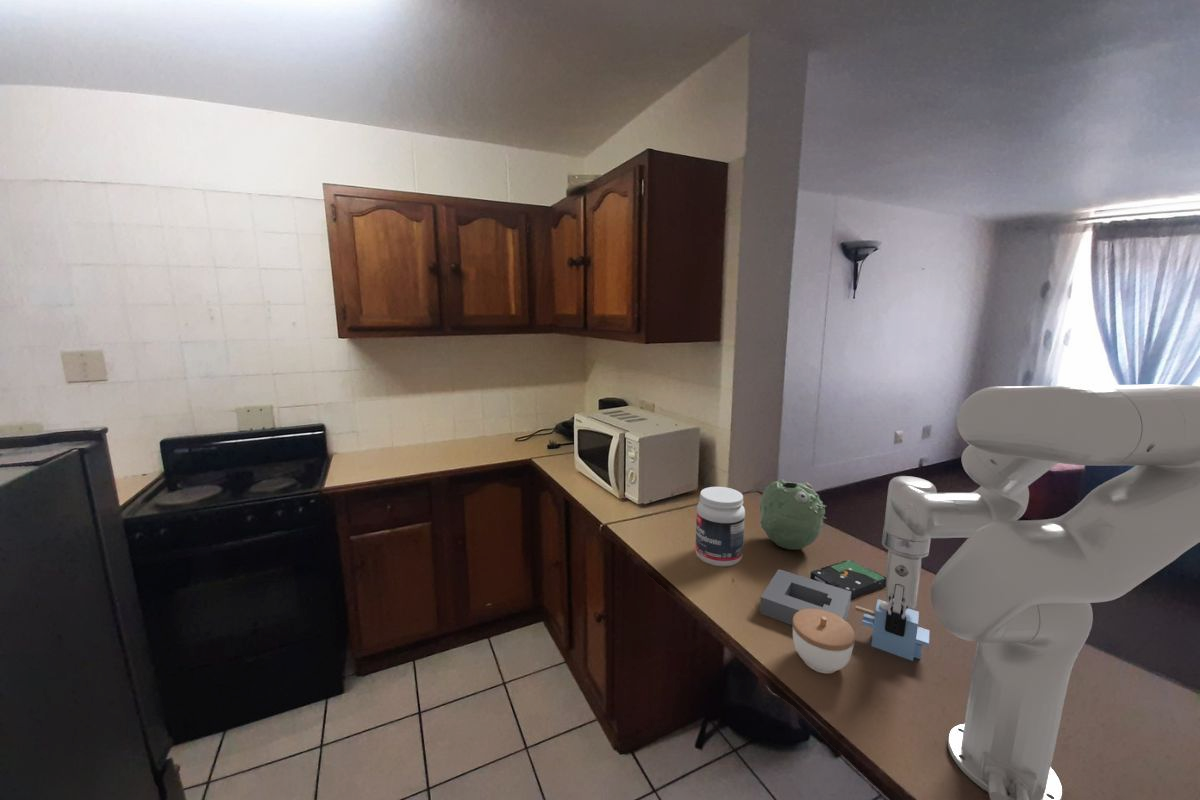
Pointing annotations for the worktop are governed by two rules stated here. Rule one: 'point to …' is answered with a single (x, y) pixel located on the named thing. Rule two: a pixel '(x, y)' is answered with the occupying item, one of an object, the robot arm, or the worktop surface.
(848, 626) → the lidded jar
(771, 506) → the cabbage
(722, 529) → the supplement tub
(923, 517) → the robot arm
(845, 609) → the plate
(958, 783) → the worktop surface
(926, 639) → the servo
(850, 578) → the disk drive
